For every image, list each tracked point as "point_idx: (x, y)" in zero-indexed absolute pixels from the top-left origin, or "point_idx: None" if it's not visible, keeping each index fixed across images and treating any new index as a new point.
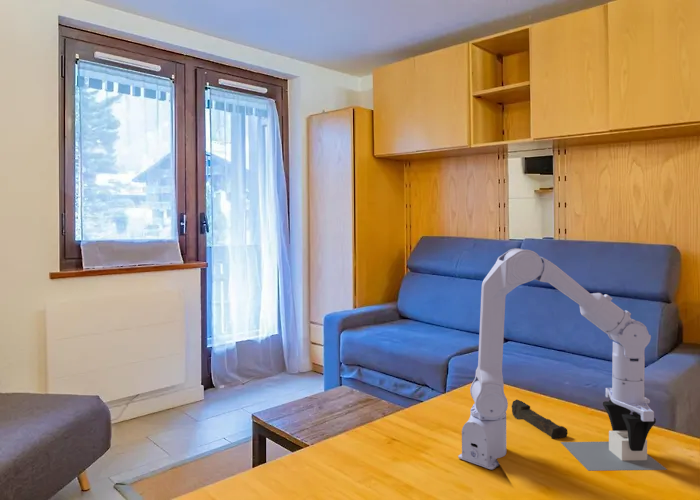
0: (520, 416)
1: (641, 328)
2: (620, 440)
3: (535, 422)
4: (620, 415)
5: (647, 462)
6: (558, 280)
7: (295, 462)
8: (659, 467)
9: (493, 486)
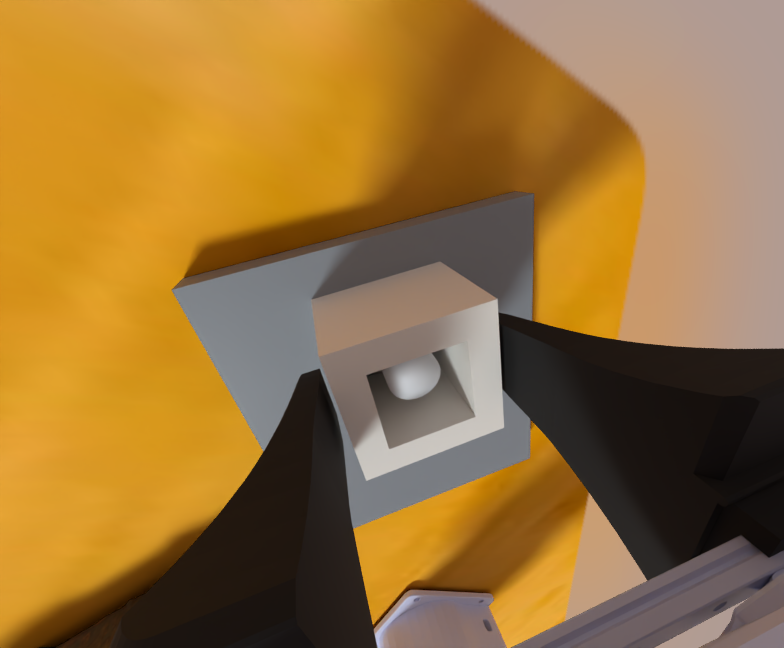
0: None
1: None
2: (486, 428)
3: None
4: (341, 533)
5: (464, 266)
6: None
7: None
8: (514, 225)
9: (549, 570)
